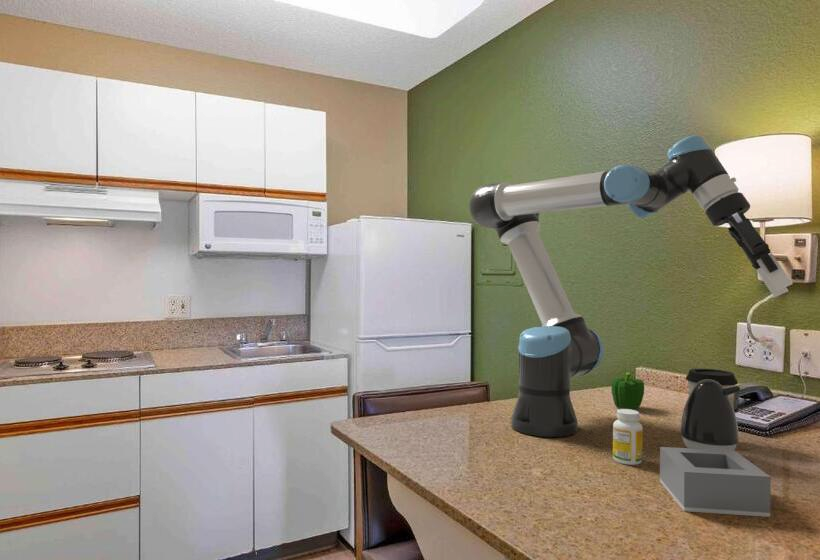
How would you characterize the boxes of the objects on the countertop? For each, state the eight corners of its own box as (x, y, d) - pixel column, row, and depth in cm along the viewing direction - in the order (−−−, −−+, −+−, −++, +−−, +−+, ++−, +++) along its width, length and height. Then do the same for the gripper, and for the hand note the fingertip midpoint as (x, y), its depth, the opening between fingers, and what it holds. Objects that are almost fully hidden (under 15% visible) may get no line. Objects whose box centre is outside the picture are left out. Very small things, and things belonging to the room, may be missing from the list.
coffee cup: (745, 449, 110) (745, 377, 110) (693, 446, 112) (693, 375, 112) (726, 435, 119) (727, 369, 119) (679, 432, 121) (680, 367, 121)
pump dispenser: (739, 468, 99) (740, 386, 99) (677, 457, 105) (678, 380, 105) (740, 452, 108) (740, 378, 108) (682, 444, 113) (683, 372, 113)
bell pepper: (615, 403, 150) (615, 367, 150) (646, 407, 145) (646, 370, 145) (606, 409, 143) (607, 372, 143) (639, 414, 138) (639, 375, 138)
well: (684, 511, 81) (684, 471, 81) (659, 481, 93) (660, 446, 93) (770, 516, 79) (770, 476, 79) (734, 485, 91) (734, 450, 91)
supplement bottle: (618, 465, 100) (619, 414, 100) (608, 455, 106) (608, 407, 106) (647, 465, 100) (647, 415, 100) (635, 456, 106) (635, 407, 106)
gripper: (739, 174, 98) (809, 273, 91) (741, 205, 119) (799, 288, 112) (698, 196, 102) (763, 294, 94) (708, 223, 122) (762, 304, 115)
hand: (783, 291), depth 103 cm, fingers open, 13 cm apart
